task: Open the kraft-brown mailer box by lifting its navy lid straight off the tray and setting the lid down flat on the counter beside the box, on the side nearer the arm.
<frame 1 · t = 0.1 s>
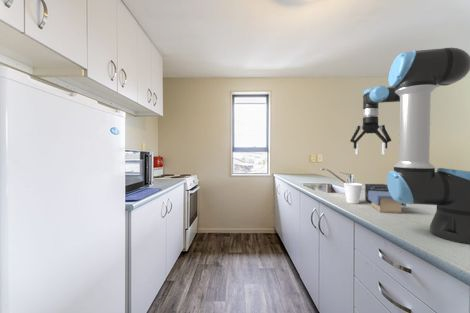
hand: (370, 154, 129), 28 cm above the countertop, tool pointing down, fingers open, 13 cm apart
small box: (376, 202, 133), on the countertop
tray: (385, 209, 115), on the countertop
lid: (385, 202, 115), point 4 cm above the countertop, touching tray
cup: (352, 203, 130), on the countertop
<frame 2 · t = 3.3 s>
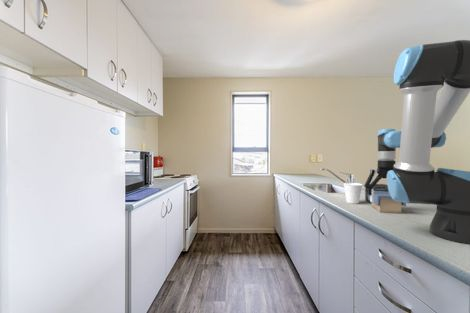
hand: (385, 202, 115), 4 cm above the countertop, tool pointing down, fingers closed on lid, 12 cm apart
lid: (385, 202, 115), point 4 cm above the countertop, touching gripper, tray
everything else where it was.
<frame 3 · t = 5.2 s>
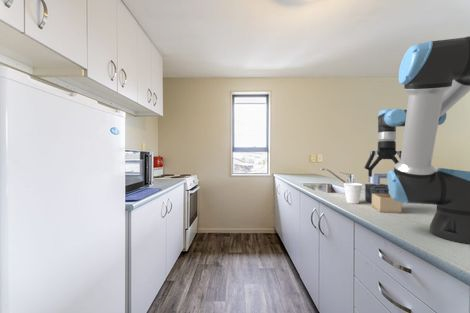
hand: (386, 183, 115), 13 cm above the countertop, tool pointing down, fingers closed on lid, 12 cm apart
lid: (386, 183, 115), point 13 cm above the countertop, touching gripper
everything else where it was.
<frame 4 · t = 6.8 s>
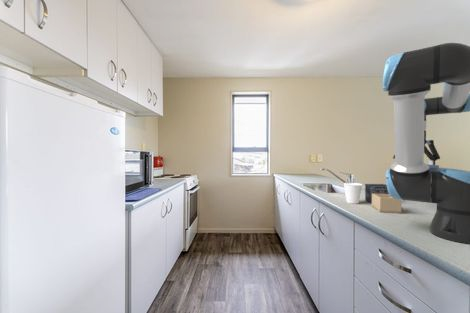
hand: (415, 173, 114), 19 cm above the countertop, tool pointing down, fingers closed on lid, 12 cm apart
lid: (415, 173, 114), point 18 cm above the countertop, touching gripper
everything else where it was.
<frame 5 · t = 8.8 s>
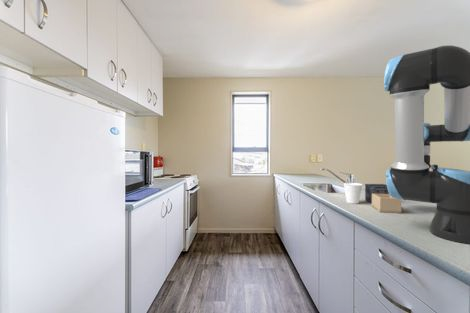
hand: (419, 197, 114), 6 cm above the countertop, tool pointing down, fingers closed on lid, 12 cm apart
lid: (419, 197, 114), point 6 cm above the countertop, touching gripper
everything else where it was.
when the fingers open (2 cm above the countertop, at t = 10.6 s): lid drops 2 cm, on the countertop.
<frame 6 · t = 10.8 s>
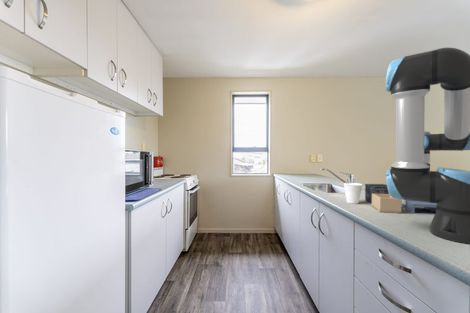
hand: (419, 205, 114), 3 cm above the countertop, tool pointing down, fingers open, 13 cm apart
lid: (419, 210, 114), on the countertop
everything else where it was.
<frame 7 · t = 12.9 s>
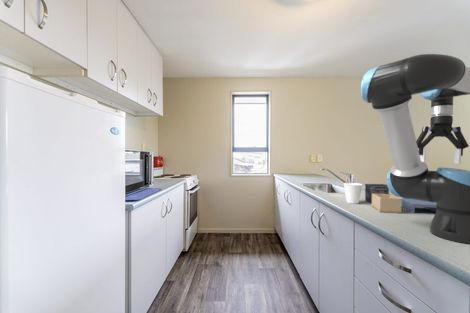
hand: (439, 162, 104), 24 cm above the countertop, tool pointing down, fingers open, 13 cm apart
nothing on the countertop moved.
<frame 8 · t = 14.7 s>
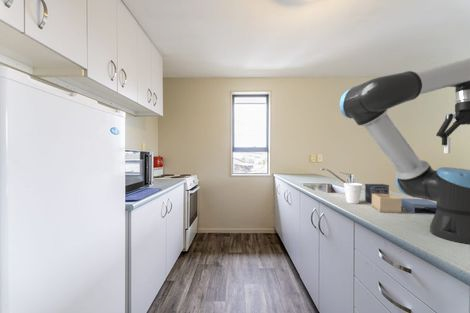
hand: (466, 153, 94), 29 cm above the countertop, tool pointing down, fingers open, 13 cm apart
nothing on the countertop moved.
at the end: lid inside the target area (0.0 cm from its centre), on the countertop; lid touching countertop; lid tilted 0° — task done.
